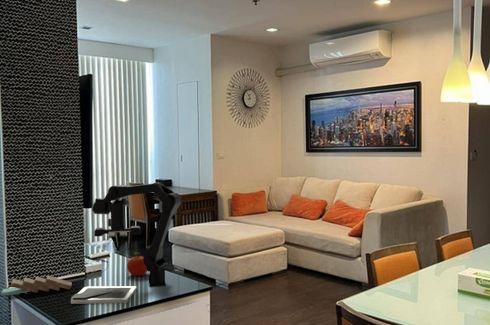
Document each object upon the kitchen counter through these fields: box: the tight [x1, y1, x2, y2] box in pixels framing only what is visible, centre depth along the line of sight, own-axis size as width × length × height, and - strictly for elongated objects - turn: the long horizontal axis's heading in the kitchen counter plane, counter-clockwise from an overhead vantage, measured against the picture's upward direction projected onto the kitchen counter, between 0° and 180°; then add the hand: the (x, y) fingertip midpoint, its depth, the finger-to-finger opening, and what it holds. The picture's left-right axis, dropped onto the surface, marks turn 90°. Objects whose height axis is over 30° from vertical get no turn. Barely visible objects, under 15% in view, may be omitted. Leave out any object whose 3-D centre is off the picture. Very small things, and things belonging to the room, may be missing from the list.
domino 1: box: [0, 287, 31, 297], centre depth 187 cm, size 2×5×10 cm
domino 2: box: [10, 278, 39, 293], centre depth 187 cm, size 2×5×10 cm
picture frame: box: [70, 285, 137, 305], centre depth 181 cm, size 16×3×21 cm
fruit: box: [126, 251, 148, 277], centre depth 210 cm, size 10×10×10 cm
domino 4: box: [34, 276, 61, 292], centre depth 189 cm, size 2×5×10 cm
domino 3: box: [22, 277, 51, 292], centre depth 188 cm, size 2×5×10 cm
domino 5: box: [45, 275, 73, 290], centre depth 191 cm, size 2×5×10 cm
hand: (118, 251), depth 200 cm, fingers closed
